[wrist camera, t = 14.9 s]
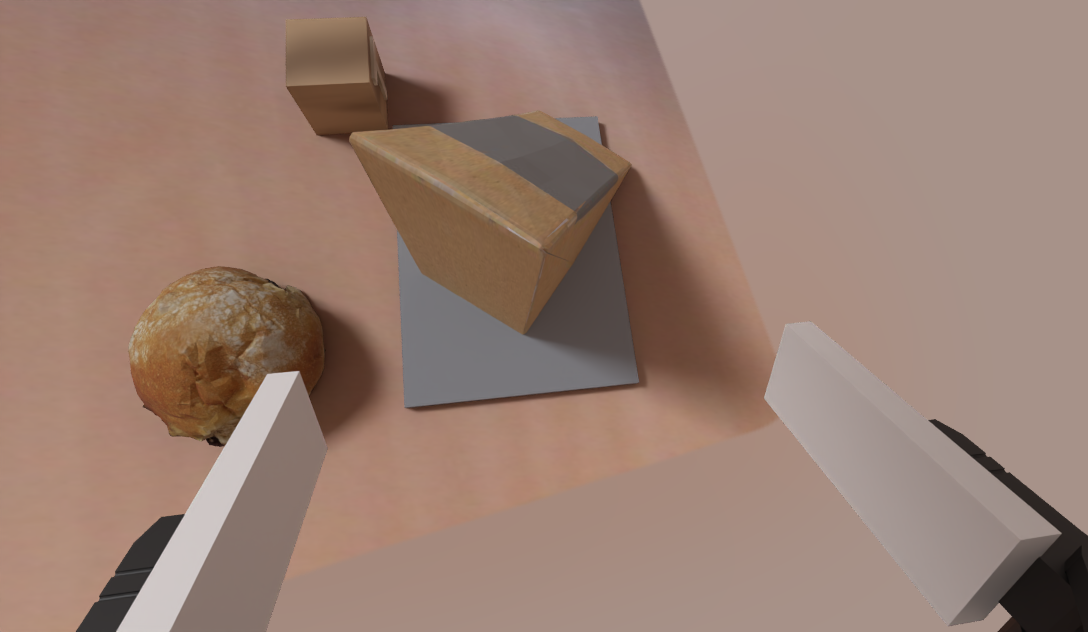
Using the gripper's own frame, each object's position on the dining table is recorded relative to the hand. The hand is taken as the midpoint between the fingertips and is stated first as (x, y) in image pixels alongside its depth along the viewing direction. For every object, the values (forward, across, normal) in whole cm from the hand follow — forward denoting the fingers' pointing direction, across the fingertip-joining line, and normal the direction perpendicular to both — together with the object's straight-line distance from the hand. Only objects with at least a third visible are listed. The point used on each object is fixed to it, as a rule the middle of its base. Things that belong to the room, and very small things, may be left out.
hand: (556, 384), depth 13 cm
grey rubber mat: (+20, 0, -5) cm, 21 cm away
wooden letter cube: (+29, -10, +4) cm, 31 cm away
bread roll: (+16, -17, -9) cm, 25 cm away
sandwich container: (+22, +2, -3) cm, 22 cm away
